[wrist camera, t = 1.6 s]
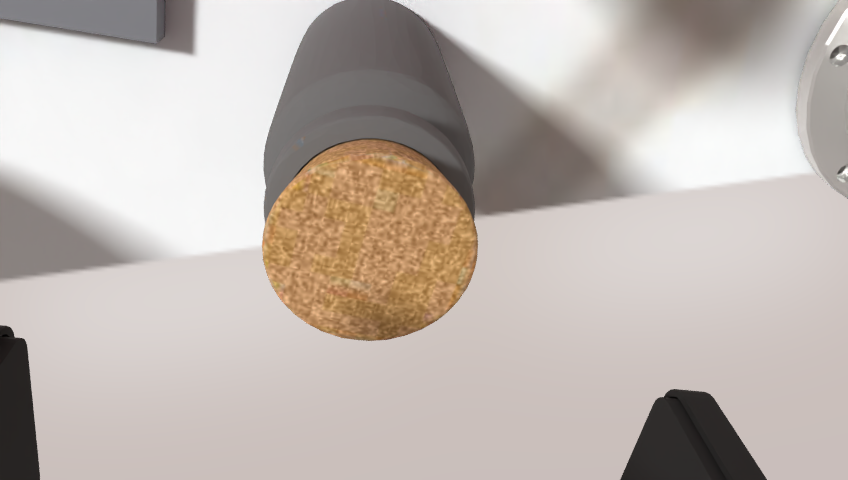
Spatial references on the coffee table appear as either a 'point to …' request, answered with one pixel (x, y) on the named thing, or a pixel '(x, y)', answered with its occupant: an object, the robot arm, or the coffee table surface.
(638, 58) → the coffee table surface
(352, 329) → the bottle
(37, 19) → the mat
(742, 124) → the coffee table surface
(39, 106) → the coffee table surface
